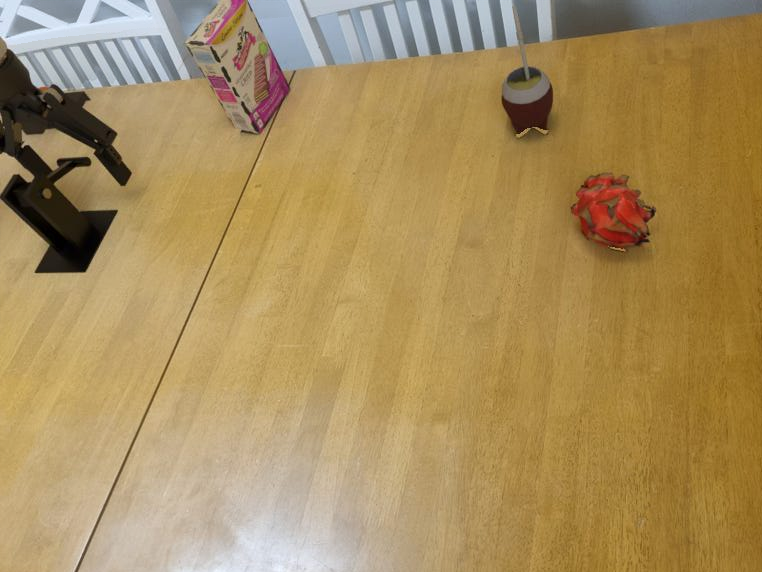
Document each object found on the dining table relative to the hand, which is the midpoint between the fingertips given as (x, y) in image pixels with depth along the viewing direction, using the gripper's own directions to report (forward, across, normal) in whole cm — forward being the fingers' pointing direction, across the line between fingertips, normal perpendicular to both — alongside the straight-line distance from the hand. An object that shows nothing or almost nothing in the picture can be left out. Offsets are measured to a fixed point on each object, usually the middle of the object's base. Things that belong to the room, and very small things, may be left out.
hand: (89, 181), depth 113 cm
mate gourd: (+4, +67, +12) cm, 68 cm away
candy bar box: (+4, +22, +19) cm, 29 cm away
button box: (+4, -20, +21) cm, 29 cm away
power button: (+1, -20, +21) cm, 29 cm away
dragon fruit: (+4, +80, -9) cm, 81 cm away
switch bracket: (+4, 0, -9) cm, 10 cm away
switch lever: (-4, 0, -5) cm, 7 cm away
